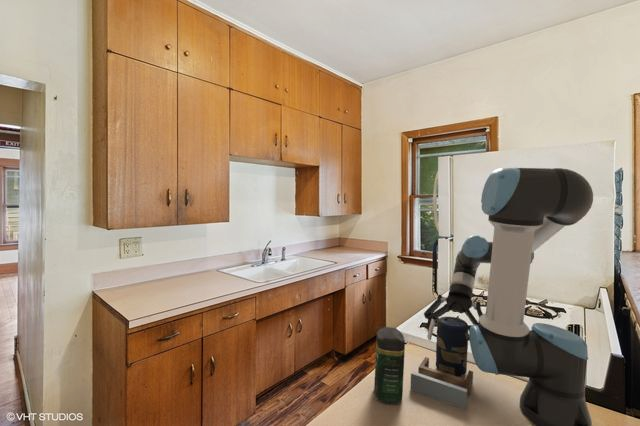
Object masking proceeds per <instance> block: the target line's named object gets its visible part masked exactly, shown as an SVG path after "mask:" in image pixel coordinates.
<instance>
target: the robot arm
mask: <svg viewBox="0 0 640 426" xmlns="http://www.w3.org/2000/svg"><path fill="white" fill-rule="evenodd" d="M483 185H484V186H483V189H482V193H481V198H480V199H481V200H480V201H481V210H482V212H483V213H484V214H485V215H487V216H488V222H489V223H490V224H491V225H492V226H493V237H492V241H488V240H487V239H486V238H484V236H480V235H471V236H468V237H467V238H466V240H465V241H464V243H463V244H462V246H461V249H460V250H459V251H458V253H457V255H456V258H455V263H454V269H453V273H452V276H451V277H452V278H451V282H450V286H449V290H448V295H447V297H445V296H443V295H442V294H438V295H437V298H436V299H435V301H434V302H433V303H432V304H431V305H430V306H429V307H428V308H427V309H426V310H425V311H424V313H423V316H424V318H425V319H427V323H426V328H427V330H428V333H427V335H426V336H427V339H428V341H431V340H432V336H433V332H434V329H435V324H436V322H435V321H436V320H437V319H439V318H441V317H443V315H445V314H446V313H449V312H450V311H452V312H453V313H458V314H465V316H466V317H468V319H469V322H471V323H472V325H471V326H470V328H469V329H468V340H469V345H470V350H471V355H472V358H473V360H474V363H475V365H476V367H477V368H478V369H479V370H480V371H482V372H483V373H488V374H494V375H496V376H498V375H504V376H510V377H511V376H513V377H522V378H528V381H527V383H526V384H525V387H524V388H523V390H522V392H521V394H520V397H519V409H520V411H521V412H522V414H523V416H525V418H526V419H528V420H529V421H531V422H532V423H533V424H535V425H536V426H593V424H592V423H593V422H592V418H591V415H590V411H589V408H588V405H587V402H586V398H585V393H586V391H585V390H586V380H587V379H586V377H587V368H588V367H587V366H588V360H589V354H588V344H587V342H586V341H585V340H584V339H583V338H582V337H581V336H579V335H578V334H576V333H575V332H573V331H571V330H567V329H565V328H562V327H559V326H555V325H554V324H553V325H552V324H549V323H548V324H547V323H544V322H543V323H541V322H536V323H533V324H532V325H531V328H530V327H529V326H528V324H526V323H525V321H524V320H525V319H524V318H525V312H526V311H525V310H526V304H527V303H526V302H527V294H528V293H527V292H528V285H529V279H530V278H529V277H530V270H531V264H532V263H533V261H534V258H535V251H536V250H537V249H539V248H540V247H541V246H542V245H544V244H545V243H546V242H548V241H549V240H550V239H552V237H554V236H555V235H556V234H557V233H558V232H560V231H561V230H562V229H564V228H565V227H567V226H573V225H575V224H577V223H578V222H579V221H581V220H582V219H583V218H584V217H585V216H586V215H587V214H588V213H589V212H590V209H591V208H592V206H593V204H594V203H593V202H594V192H593V188H592V186H591V185H590V183H589V181H588V180H587V178H585V177H584V176H583V175H582V174H581V173H578V172H576V171H574V170H571V169H568V168H562V167H557V168H556V167H555V168H546V167H545V168H544V167H543V168H542V167H541V168H540V167H536V168H535V167H533V168H532V167H505V168H497V169H495V170H493V171H492V172H491V173H490V175H489V176H488V177H487V178H486V181H485V183H484V184H483ZM481 264H490V268H489V269H490V270H489V277H488V288H487V289H488V290H487V297H486V307H485V308H486V309H485V313H483V311H482V307H481V306H482V305H481V302H479V301H477V302H472V300H473V294H474V293H473V292H474V291H473V290H474V287H475V286H474V285H475V281H476V275H477V271H478V268H479V266H480V265H481ZM445 302H446V303H445ZM443 303H445V304H444V305H443V306H441V304H443ZM440 306H441V307H440ZM472 307H473V309H474V310H475V311H476V313H477V315H478V320H477V319H476V318H475V316H474V315H473V313H472V311H471V310H470V309H471V308H472Z"/></svg>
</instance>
